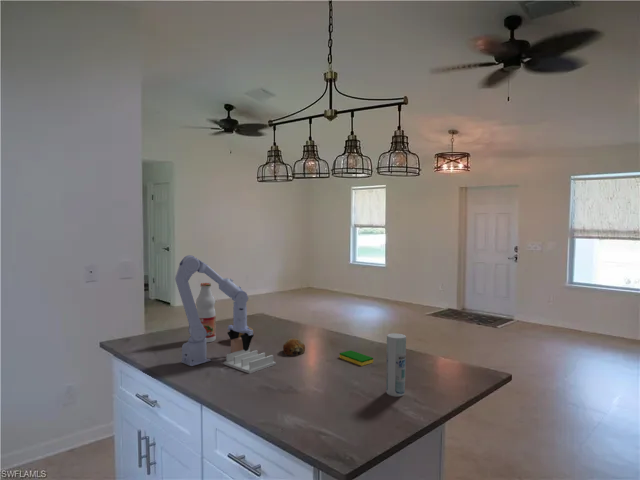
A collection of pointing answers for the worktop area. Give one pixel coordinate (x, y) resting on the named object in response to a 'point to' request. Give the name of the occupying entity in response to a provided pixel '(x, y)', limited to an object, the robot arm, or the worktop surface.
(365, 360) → the dish sponge
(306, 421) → the worktop surface
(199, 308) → the fruit juice
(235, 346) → the tile
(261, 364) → the dish rack
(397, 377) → the spray can
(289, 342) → the bread roll
